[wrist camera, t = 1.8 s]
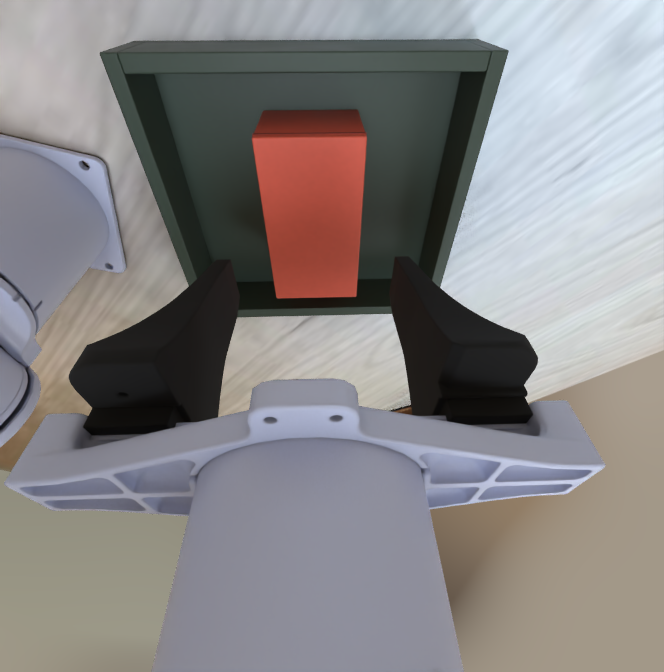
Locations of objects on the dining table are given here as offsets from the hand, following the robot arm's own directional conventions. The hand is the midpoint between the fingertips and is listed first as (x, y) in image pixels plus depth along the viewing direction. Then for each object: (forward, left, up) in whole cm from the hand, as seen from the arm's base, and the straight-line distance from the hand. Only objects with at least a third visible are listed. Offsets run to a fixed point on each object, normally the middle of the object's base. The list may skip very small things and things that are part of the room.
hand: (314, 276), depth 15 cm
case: (0, 0, -8) cm, 8 cm away
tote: (0, 0, -9) cm, 9 cm away
